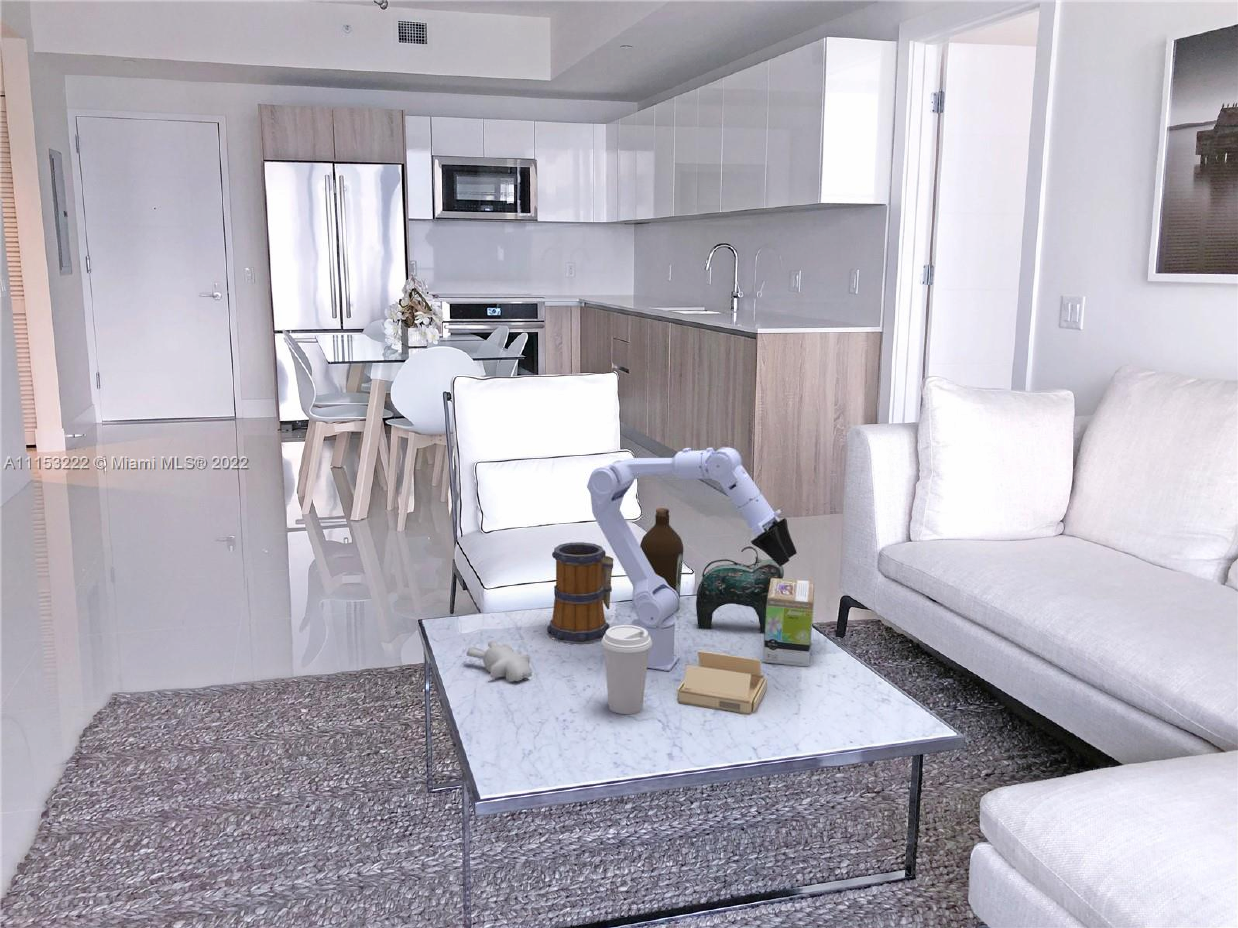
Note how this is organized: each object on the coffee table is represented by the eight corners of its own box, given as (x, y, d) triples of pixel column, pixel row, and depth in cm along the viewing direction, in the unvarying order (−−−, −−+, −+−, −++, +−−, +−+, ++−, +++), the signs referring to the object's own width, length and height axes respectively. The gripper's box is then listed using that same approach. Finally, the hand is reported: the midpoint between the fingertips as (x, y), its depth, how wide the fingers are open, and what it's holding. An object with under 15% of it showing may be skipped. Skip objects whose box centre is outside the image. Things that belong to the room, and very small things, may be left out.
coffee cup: (614, 721, 184) (615, 645, 181) (592, 701, 192) (592, 627, 189) (659, 711, 188) (661, 636, 185) (635, 692, 196) (637, 620, 193)
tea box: (810, 667, 210) (814, 601, 207) (762, 663, 212) (765, 597, 209) (811, 642, 224) (814, 579, 222) (766, 638, 226) (769, 576, 223)
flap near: (683, 687, 192) (687, 664, 193) (683, 687, 192) (687, 664, 193) (747, 697, 187) (751, 674, 189) (748, 697, 188) (751, 674, 189)
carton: (675, 702, 192) (675, 688, 192) (693, 676, 204) (694, 663, 204) (753, 715, 187) (754, 701, 187) (767, 687, 199) (768, 674, 199)
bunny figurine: (506, 670, 196) (462, 641, 206) (504, 694, 197) (460, 663, 208) (543, 658, 202) (499, 630, 213) (541, 681, 204) (497, 652, 214)
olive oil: (638, 614, 240) (640, 514, 235) (638, 600, 251) (640, 503, 246) (682, 615, 240) (685, 515, 235) (681, 601, 250) (683, 504, 245)
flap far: (699, 665, 203) (697, 651, 200) (700, 664, 203) (697, 650, 200) (760, 674, 199) (759, 660, 196) (761, 673, 199) (759, 659, 196)
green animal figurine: (780, 627, 233) (785, 545, 229) (781, 637, 227) (785, 553, 223) (696, 622, 236) (698, 540, 232) (694, 631, 230) (696, 548, 226)
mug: (585, 612, 242) (586, 532, 238) (634, 625, 233) (636, 542, 229) (533, 634, 226) (533, 550, 222) (583, 649, 218) (584, 561, 214)
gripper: (757, 495, 188) (798, 556, 186) (773, 486, 201) (812, 542, 200) (728, 515, 190) (768, 575, 189) (745, 504, 204) (783, 560, 202)
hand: (788, 559), depth 195 cm, fingers open, 7 cm apart
